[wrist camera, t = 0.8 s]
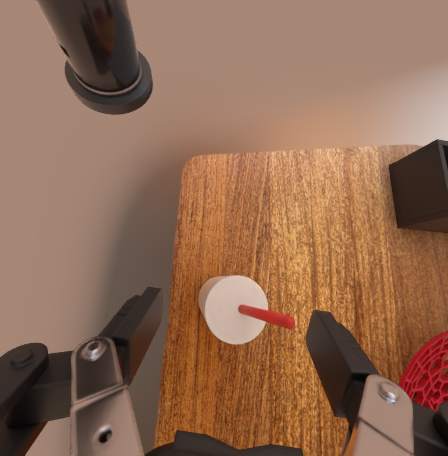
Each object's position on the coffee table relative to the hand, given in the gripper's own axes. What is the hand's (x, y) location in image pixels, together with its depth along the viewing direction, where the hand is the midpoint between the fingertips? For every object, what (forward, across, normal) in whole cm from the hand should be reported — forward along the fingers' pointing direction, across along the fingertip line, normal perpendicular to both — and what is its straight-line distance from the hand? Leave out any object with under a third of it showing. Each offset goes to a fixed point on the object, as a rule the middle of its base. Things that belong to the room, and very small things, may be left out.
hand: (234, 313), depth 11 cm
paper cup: (+15, +1, +10) cm, 18 cm away
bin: (+30, -32, -6) cm, 45 cm away
